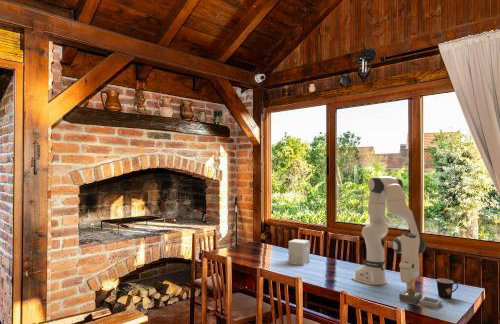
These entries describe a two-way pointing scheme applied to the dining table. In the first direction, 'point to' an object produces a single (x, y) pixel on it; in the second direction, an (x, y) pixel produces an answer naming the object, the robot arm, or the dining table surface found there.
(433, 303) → the tray
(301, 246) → the supplement box
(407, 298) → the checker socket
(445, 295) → the coffee mug
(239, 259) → the dining table surface
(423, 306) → the bench board
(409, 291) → the cell
